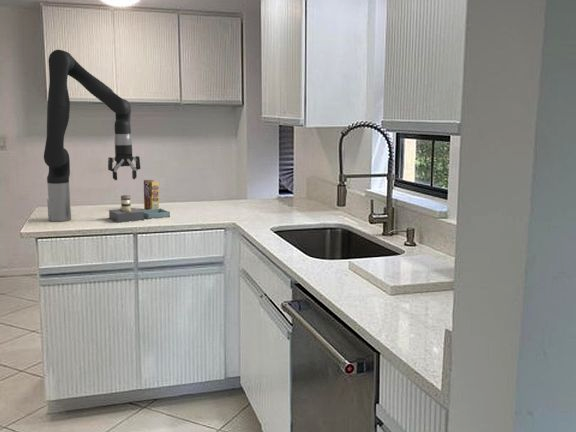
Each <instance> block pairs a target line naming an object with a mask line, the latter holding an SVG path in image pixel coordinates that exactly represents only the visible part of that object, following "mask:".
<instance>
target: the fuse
mask: <svg viewBox="0 0 576 432" xmlns="http://www.w3.org/2000/svg"><path fill="white" fill-rule="evenodd" d="M120 204H121V205H120V208H121V207H122V212H127V210H131V208H132V207H131V195H129V194H128V195H127V194H123V195H120Z"/></svg>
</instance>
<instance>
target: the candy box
mask: <svg viewBox="0 0 576 432" xmlns="http://www.w3.org/2000/svg"><path fill="white" fill-rule="evenodd" d="M159 185H160V182H159V181H158V180H155V179H154V180H153V179H143V207H144V209H143V210H149V209H160V202H159V201H160V199H159V198H160V193H159V192H160V191H159V188H160V187H159Z"/></svg>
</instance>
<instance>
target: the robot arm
mask: <svg viewBox="0 0 576 432" xmlns="http://www.w3.org/2000/svg"><path fill="white" fill-rule="evenodd" d="M48 74H49V81H48V83H49V85H48V91H47V109H46V139H45V144H44V151H43V161H44V163H45V165H46V166H48V174H47V177H46V180H47V181H46V182H47V183H46V184H47V199H46V202H47V216H48V217H47V219H48V220H49V221H50V222H67V221H70V220H72V209H71V191H70V177H71V176H70V174H71V169H70V167H71V163H70V154H69V151H68V150H67V149H66V148H65V147H64V146H65V145H64V143H65V140H64V139H65V134H66V131H67V127H68V125H69V119H70V111H71V108H70V107H71V104H70V103H71V102H70V101H71V100H70V95H69V89H68V76H69V77H71V78H73V79H74V80H75V81H76V82H78V83H79V84H80V85H82V87H83V88H85V90H86V91H88V92H89V93H90V94H91V95H93V97H95V99H97V100H98V101H100V102H102V103H103V104H104V105H105V106H106V107H107V108H109V109H110V110H111V111H112V112H113V113H115V121H114V155H115V156H114V157H108V159H107V160H108V161H107V170H108V171H110V172H112V179H113V180H114V181H118V172H117V171H118V169H120V167H130V169H131V175H132V176H131V178H132V180H136V179H137V178H138V177H137V171H138V170H141V160H140V156H138V155H135V156H133V141H132V140H133V139H132V129H131V128H132V127H131V116H132V115H131V114H132V109H131V104H130V102H129V101H128V100H127V99H124V98H122V97H121V96H119V95H118V94H116V93H115V92H114V90H112V88H110V87H109V86H108V85H107V84H105V83H104V82H103V81H101V80H100V79H98V78H97V77H95V76H94V75H92V74H91V73H90V72H89V71H87V70H86V69H85V68H84V67H83V66H82V65H80V63H79V62H78V61H77V59H75V58H74V56H73V55H72V54H70V53H69V52H67V51H66V50H62V49H55V50H52V52H51V53H50V54H49V56H48ZM114 161H115V164H114V167H113V163H114ZM133 161H134V162H135V165H134V164H133Z"/></svg>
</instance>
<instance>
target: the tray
mask: <svg viewBox="0 0 576 432" xmlns="http://www.w3.org/2000/svg"><path fill="white" fill-rule="evenodd" d="M140 210H141V211H143V215H144V219H145V220H146V219H147V220H151V219H152V218H155V219H161V218H163V217H165V218H170V217H171V215H170V214H171V213H170V210H166V209H163V208H160V207H159V209H149V210H144V209H140ZM152 220H153V219H152Z"/></svg>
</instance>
